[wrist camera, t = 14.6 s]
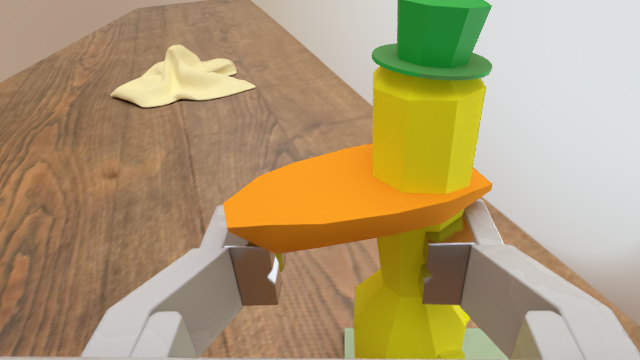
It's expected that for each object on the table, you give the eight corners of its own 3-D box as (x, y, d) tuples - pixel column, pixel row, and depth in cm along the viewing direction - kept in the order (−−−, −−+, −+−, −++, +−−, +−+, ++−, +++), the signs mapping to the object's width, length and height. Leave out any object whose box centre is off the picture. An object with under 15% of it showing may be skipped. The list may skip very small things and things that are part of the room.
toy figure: (287, 499, 11) (183, 58, 5) (264, 380, 14) (180, 3, 8) (505, 421, 13) (653, -7, 6) (444, 327, 16) (501, -33, 9)
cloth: (97, 111, 61) (81, 69, 58) (144, 68, 77) (133, 33, 73) (249, 103, 60) (242, 60, 57) (265, 61, 76) (261, 26, 72)
